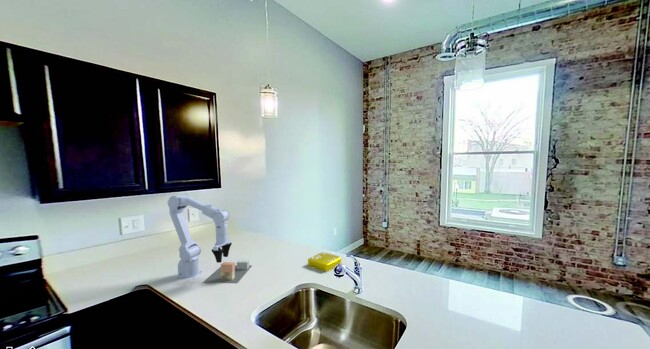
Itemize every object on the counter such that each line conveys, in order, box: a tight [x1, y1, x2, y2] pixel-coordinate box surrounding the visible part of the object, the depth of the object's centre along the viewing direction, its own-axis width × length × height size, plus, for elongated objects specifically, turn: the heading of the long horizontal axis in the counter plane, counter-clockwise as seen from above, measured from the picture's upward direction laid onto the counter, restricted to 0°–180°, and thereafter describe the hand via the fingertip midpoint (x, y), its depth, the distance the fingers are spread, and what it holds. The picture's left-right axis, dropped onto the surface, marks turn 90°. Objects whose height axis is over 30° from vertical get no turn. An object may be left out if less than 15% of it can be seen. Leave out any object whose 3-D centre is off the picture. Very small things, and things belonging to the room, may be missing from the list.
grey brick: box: [236, 259, 250, 269], centre depth 146 cm, size 6×3×4 cm, turn 86°
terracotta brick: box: [220, 261, 236, 272], centre depth 133 cm, size 6×3×4 cm, turn 85°
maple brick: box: [221, 270, 235, 280], centre depth 133 cm, size 6×3×4 cm, turn 86°
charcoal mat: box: [202, 264, 253, 284], centre depth 139 cm, size 18×22×1 cm
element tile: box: [307, 251, 342, 272], centre depth 151 cm, size 15×15×5 cm
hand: (222, 259), depth 135 cm, fingers open, 7 cm apart
